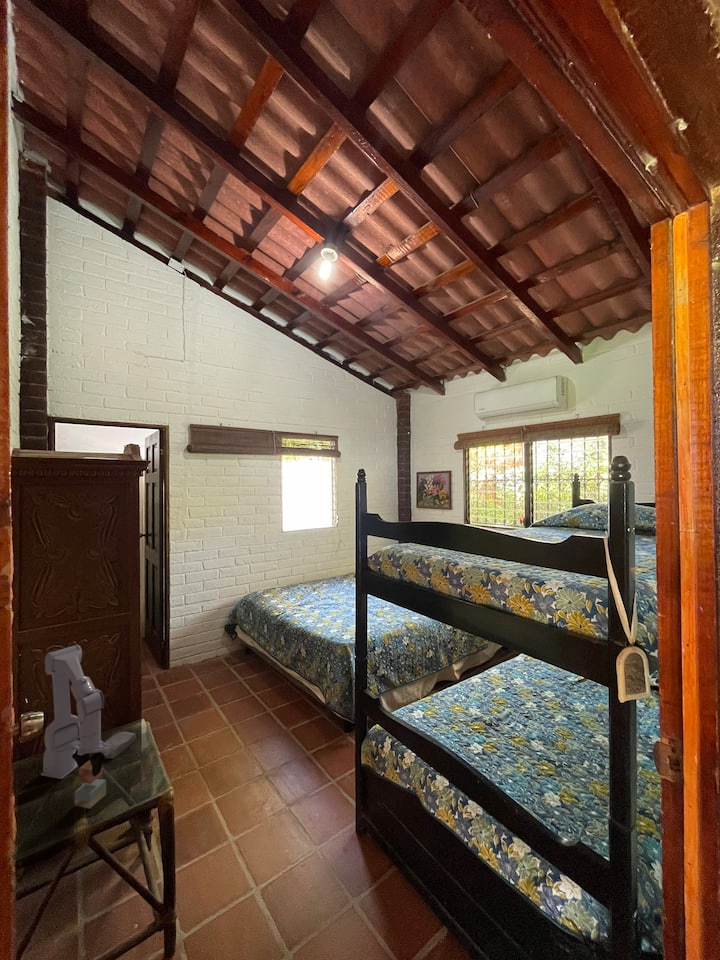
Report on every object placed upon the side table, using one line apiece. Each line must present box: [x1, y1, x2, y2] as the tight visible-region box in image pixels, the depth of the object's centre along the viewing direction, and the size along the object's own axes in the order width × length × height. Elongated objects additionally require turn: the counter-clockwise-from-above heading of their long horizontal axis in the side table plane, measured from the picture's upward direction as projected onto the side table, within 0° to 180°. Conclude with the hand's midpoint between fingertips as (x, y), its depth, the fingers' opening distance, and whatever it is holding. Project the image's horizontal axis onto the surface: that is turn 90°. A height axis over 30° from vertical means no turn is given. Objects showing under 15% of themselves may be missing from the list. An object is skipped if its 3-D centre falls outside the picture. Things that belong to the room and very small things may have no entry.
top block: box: [74, 778, 107, 802], centre depth 127 cm, size 6×6×2 cm
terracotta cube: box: [78, 760, 104, 784], centre depth 128 cm, size 4×4×4 cm
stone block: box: [104, 731, 137, 760], centre depth 153 cm, size 12×5×10 cm
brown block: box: [74, 787, 107, 810], centre depth 127 cm, size 6×6×2 cm
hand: (90, 773), depth 128 cm, fingers closed on terracotta cube, 4 cm apart
